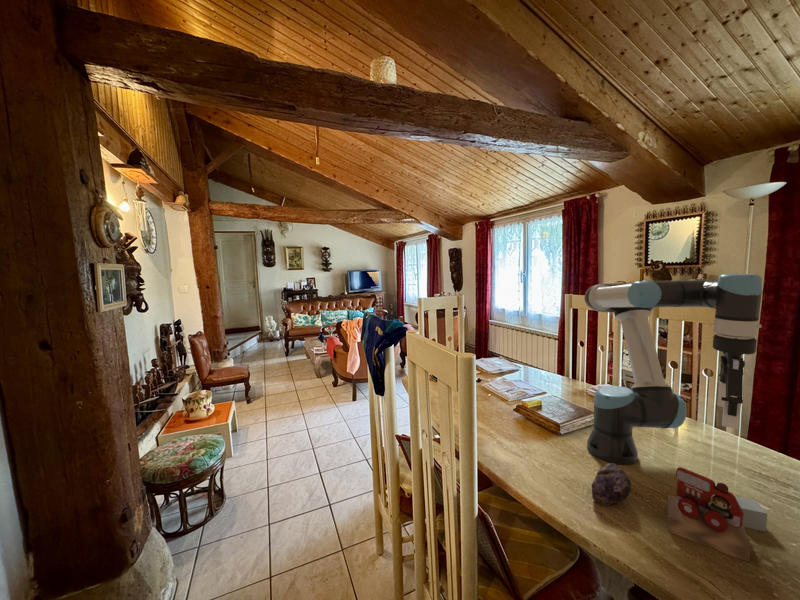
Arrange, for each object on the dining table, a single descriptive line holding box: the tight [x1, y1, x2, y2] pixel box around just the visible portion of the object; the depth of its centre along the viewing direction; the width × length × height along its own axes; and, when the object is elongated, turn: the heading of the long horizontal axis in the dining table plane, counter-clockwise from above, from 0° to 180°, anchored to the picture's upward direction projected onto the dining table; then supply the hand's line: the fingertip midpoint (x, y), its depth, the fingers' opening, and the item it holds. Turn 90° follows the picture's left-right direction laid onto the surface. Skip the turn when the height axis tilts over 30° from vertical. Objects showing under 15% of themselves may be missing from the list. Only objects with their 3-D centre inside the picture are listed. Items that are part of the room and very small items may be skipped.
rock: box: [591, 462, 632, 506], centre depth 92 cm, size 12×9×10 cm
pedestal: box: [666, 494, 751, 563], centre depth 80 cm, size 14×10×4 cm
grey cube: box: [729, 495, 768, 533], centre depth 83 cm, size 5×5×5 cm
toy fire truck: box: [675, 467, 744, 532], centre depth 79 cm, size 7×12×10 cm, turn 33°
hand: (727, 416), depth 82 cm, fingers open, 13 cm apart
